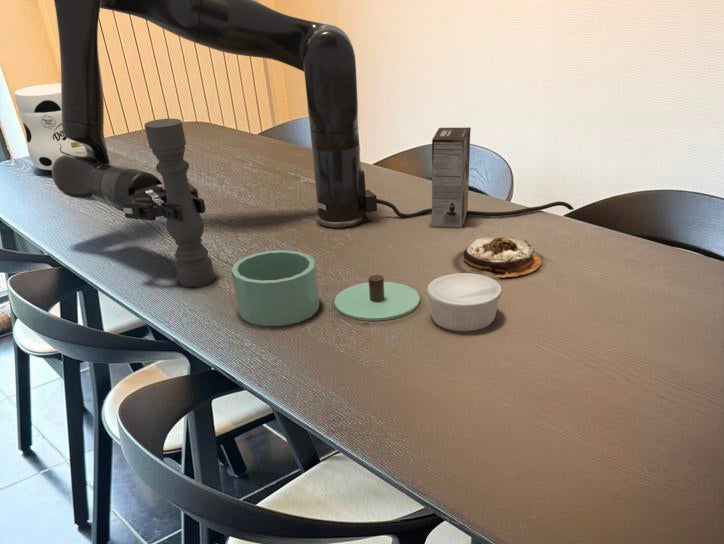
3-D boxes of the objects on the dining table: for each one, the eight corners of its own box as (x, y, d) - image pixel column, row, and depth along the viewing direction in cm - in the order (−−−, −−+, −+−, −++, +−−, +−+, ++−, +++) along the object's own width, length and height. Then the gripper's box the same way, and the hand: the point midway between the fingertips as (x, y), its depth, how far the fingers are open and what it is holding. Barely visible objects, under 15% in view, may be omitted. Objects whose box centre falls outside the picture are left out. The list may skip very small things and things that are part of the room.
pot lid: (400, 282, 121) (399, 255, 118) (433, 313, 112) (434, 285, 109) (323, 297, 118) (321, 270, 115) (351, 331, 108) (349, 303, 105)
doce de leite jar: (92, 177, 178) (68, 95, 166) (24, 179, 178) (-4, 98, 166) (113, 158, 191) (92, 81, 179) (50, 160, 191) (25, 83, 180)
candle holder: (221, 275, 126) (191, 119, 110) (201, 289, 122) (166, 128, 106) (193, 271, 129) (159, 117, 112) (172, 284, 124) (134, 126, 108)
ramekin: (479, 343, 104) (481, 309, 100) (413, 327, 108) (413, 294, 105) (511, 313, 111) (514, 280, 107) (448, 299, 115) (449, 267, 112)
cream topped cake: (443, 271, 124) (443, 247, 121) (474, 242, 134) (475, 219, 131) (524, 283, 119) (526, 259, 116) (550, 252, 129) (553, 229, 126)
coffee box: (437, 211, 148) (438, 126, 137) (468, 212, 147) (471, 126, 136) (430, 227, 141) (431, 138, 131) (462, 228, 140) (466, 139, 130)
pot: (306, 289, 121) (301, 245, 116) (329, 319, 112) (325, 272, 107) (232, 303, 117) (224, 258, 112) (250, 335, 108) (242, 288, 103)
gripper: (90, 179, 118) (149, 197, 109) (160, 159, 126) (221, 175, 117) (103, 225, 123) (161, 246, 114) (170, 203, 131) (229, 221, 122)
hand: (191, 210), depth 116 cm, fingers closed on candle holder, 4 cm apart
